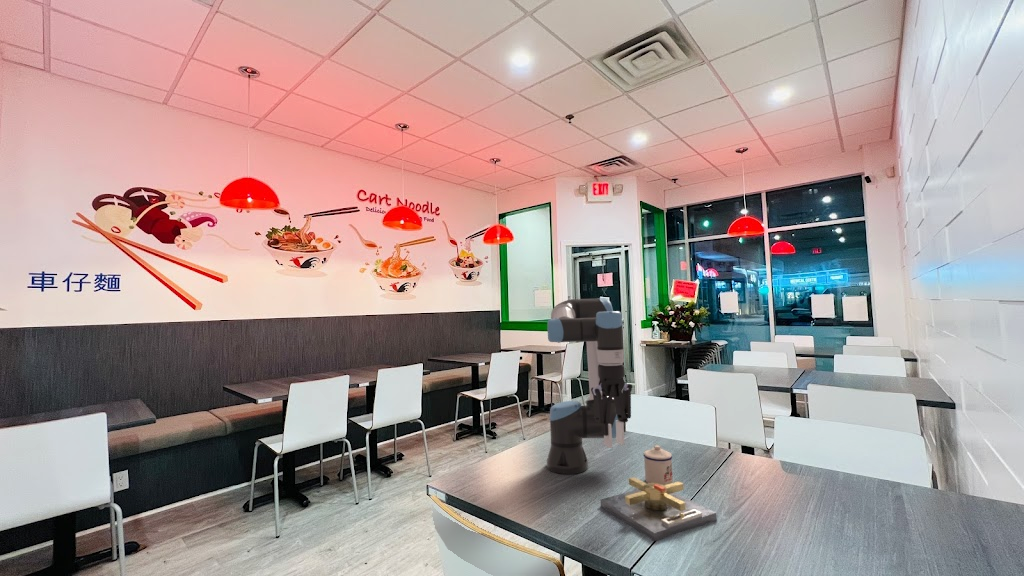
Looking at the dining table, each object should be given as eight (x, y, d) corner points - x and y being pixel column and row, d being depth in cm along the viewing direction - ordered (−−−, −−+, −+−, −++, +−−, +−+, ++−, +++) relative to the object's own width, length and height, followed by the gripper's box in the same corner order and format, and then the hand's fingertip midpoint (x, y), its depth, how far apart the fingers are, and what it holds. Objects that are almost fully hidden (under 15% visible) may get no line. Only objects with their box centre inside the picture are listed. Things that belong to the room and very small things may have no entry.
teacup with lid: (670, 489, 138) (668, 452, 139) (641, 484, 143) (640, 448, 143) (677, 476, 148) (675, 441, 149) (650, 471, 153) (648, 438, 153)
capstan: (605, 499, 127) (604, 479, 127) (656, 485, 136) (655, 466, 136) (654, 529, 109) (653, 506, 109) (710, 511, 118) (709, 489, 118)
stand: (600, 506, 127) (600, 493, 128) (657, 490, 137) (656, 478, 137) (654, 541, 108) (654, 526, 108) (716, 520, 117) (715, 506, 117)
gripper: (595, 367, 120) (598, 453, 118) (642, 362, 127) (645, 443, 126) (579, 365, 126) (582, 446, 125) (625, 360, 134) (628, 437, 132)
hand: (614, 444), depth 125 cm, fingers open, 4 cm apart
